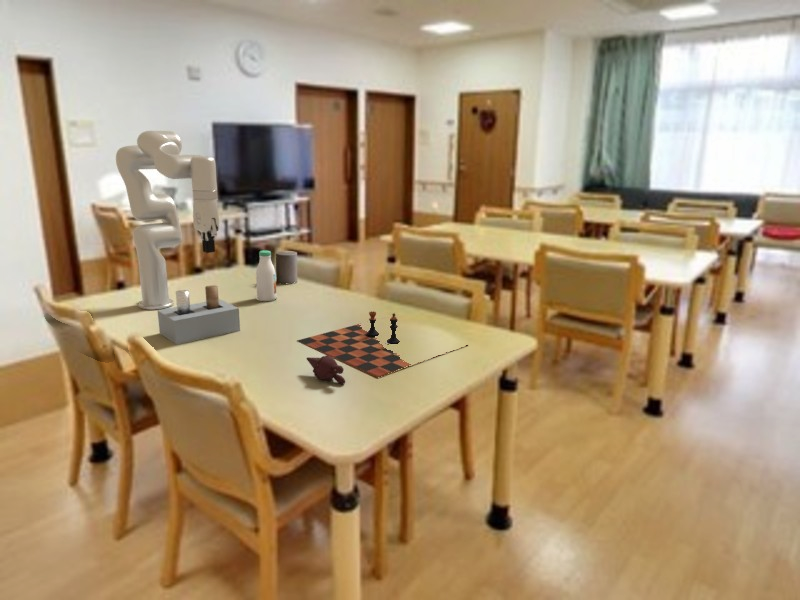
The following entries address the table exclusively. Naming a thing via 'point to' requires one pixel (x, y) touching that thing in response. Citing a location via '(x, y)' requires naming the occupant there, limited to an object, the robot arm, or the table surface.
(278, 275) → the pillar candle
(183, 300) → the steel peg
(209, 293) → the brown rounded cylinder
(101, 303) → the table surface
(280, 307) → the table surface
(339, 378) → the brown knobby figurine
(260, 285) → the milk bottle
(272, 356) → the table surface
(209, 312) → the socket board
